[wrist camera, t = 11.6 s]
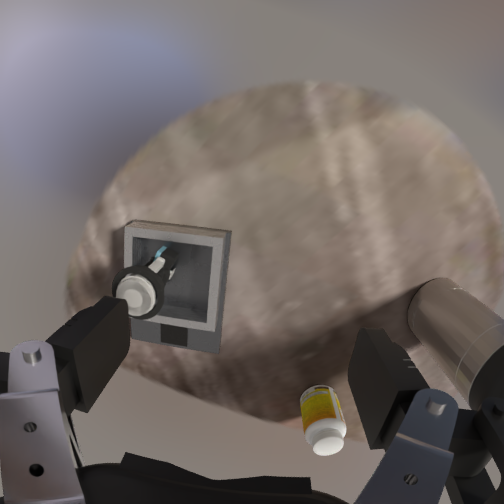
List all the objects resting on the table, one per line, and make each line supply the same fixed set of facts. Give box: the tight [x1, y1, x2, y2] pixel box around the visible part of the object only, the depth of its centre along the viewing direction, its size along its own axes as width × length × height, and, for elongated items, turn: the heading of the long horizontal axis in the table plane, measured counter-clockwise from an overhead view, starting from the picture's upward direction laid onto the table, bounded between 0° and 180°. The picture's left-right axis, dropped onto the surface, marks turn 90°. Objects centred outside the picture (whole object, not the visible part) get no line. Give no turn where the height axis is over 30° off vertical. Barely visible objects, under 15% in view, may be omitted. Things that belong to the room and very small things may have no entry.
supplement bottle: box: [300, 385, 346, 456], centre depth 38 cm, size 6×6×10 cm
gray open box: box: [124, 220, 232, 354], centre depth 37 cm, size 12×16×4 cm
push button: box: [112, 246, 179, 320], centre depth 33 cm, size 7×5×10 cm
